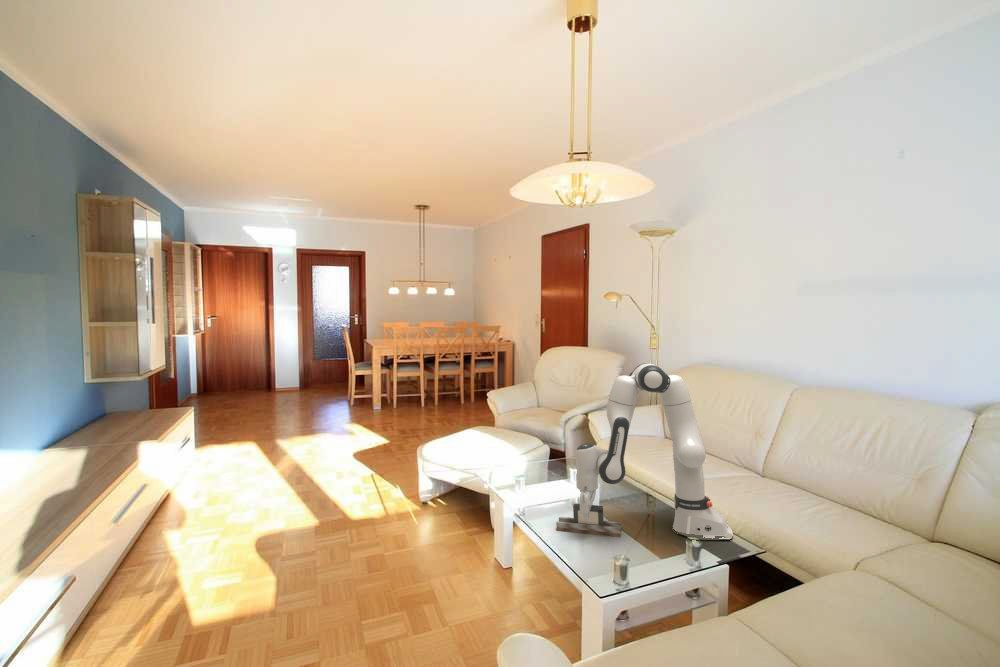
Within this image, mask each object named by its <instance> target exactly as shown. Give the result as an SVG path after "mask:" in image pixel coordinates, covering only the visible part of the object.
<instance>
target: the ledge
mask: <svg viewBox="0 0 1000 667" xmlns="http://www.w3.org/2000/svg"><path fill="white" fill-rule="evenodd" d="M555 524H556V526H555V531H557V532H565V533H566V532H567V533H575V534H584V535H585V534H586V535H597V536H607V537H617V538H621V536H622V535H621V534H622V530H623V527H622V521H620V522H619V521H610V520H604V526H600V525H589V524H579V523H574V517H567V516H559V517H558V521H556V523H555Z"/></svg>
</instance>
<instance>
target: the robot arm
mask: <svg viewBox="0 0 1000 667" xmlns="http://www.w3.org/2000/svg"><path fill="white" fill-rule="evenodd" d="M644 391H645V392H649V393H658V394H659V396H660V399H661V403H662V407H663V412H664V416H665V419H666V422H667V427H668V429H669V430H668V431H669V434H670V438H671V441H672V457H673V468H674V484H675V486H674V488H675V493H674V499H673V500H674V509H675V510H674V511H675V512H674V519H673V520H674V521H673V524H672V527H673V528H672V530H673V529H674V530H675V531H678V532H682V533H686V534H695V535H703V538H704V537H705V538H712V539H713V538H715V536H725V535H727V533H730V534H732V535H733V536H734V533H733V530H732V528H731V527H730V526H729V525H728V524H727V522H726V519H725V517H724V515H722V513H720V512H719V511H718V510H717V509H715V508H714V507H713V502H712V501H711V499H710V497H709V496H708V495H707V496H706V495H705V476H704V467H703V464H704V463H705V460H706V448H705V446H704V442H703V438H702V435H701V431H700V428H699V424H698V422H697V418H696V415H695V410H694V406H693V403H692V399H691V396H690V393H689V390H688V386H687V384H686V383H685V381H684V379H683V377H681V376H680V375H678V374H677V375H676V374H669V375H668V374H667V373H666V372H665V371H664V370H663V369H662V368H660V367H659V366H658V365H655V364H653V363H646V362H645V363H644V362H643V363H641V364H638V365H637V366H636V367H635V368H634V369H633V370H632V372H630V373H629V375H626V374H625V375H619V376H617V377H616V378H615V379H614V381H613V384H612V387H611V389H610V392H609V395H608V400H607V403H606V404H607V405H606V418H607V420H608V424H609V428H610V437H609V438H610V439H609V445H608V448H607V449H608V450H607V449H603V448H601V447H598V446H597V445H595V444H594V443H592V442H591V443H588V442H587V443H582V444H581V445H578V447H577V448H576V451H575V467H576V473H575V481H576V489H578V490H579V492H580V493H579V494H580V495H579V504H580V513H581V514H583V515H584V521H586V522H588V521H589V512H590V509H591V507H592V505H594V501H595V499H596V496H597V495H596V494H597V490H598V489H599V477H598V476H600V478H601V480H602V481H603V482H604V483H606V484H609V485H616V484H619V483H620V482H622V481H623V479H624V478H625V477H626V465H625V461H624V460H625V452H626V446H627V443H628V442H627V441H628V437H629V430H630V427H631V423H632V419H633V416H634V412H635V408H636V404H637V400H638V397H639V395H640V393H642V392H644ZM674 530H673V531H674ZM675 531H674V532H675ZM719 539H730V538H724V537H722V538H719Z"/></svg>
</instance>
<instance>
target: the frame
mask: <svg viewBox="0 0 1000 667" xmlns="http://www.w3.org/2000/svg"><path fill="white" fill-rule="evenodd" d="M572 509H573V511H572V512H573V513H572V514H573V518H574V523H579V524H589V525H600V526H604V521H605V519H604V506H603V505H599V504H597V505H596V504H595V505H594V504H593V505H592V507H591V509H590V512H589V521H588V522H586V521H584V515H583V514H581V513H580V503H573V505H572Z"/></svg>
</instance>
